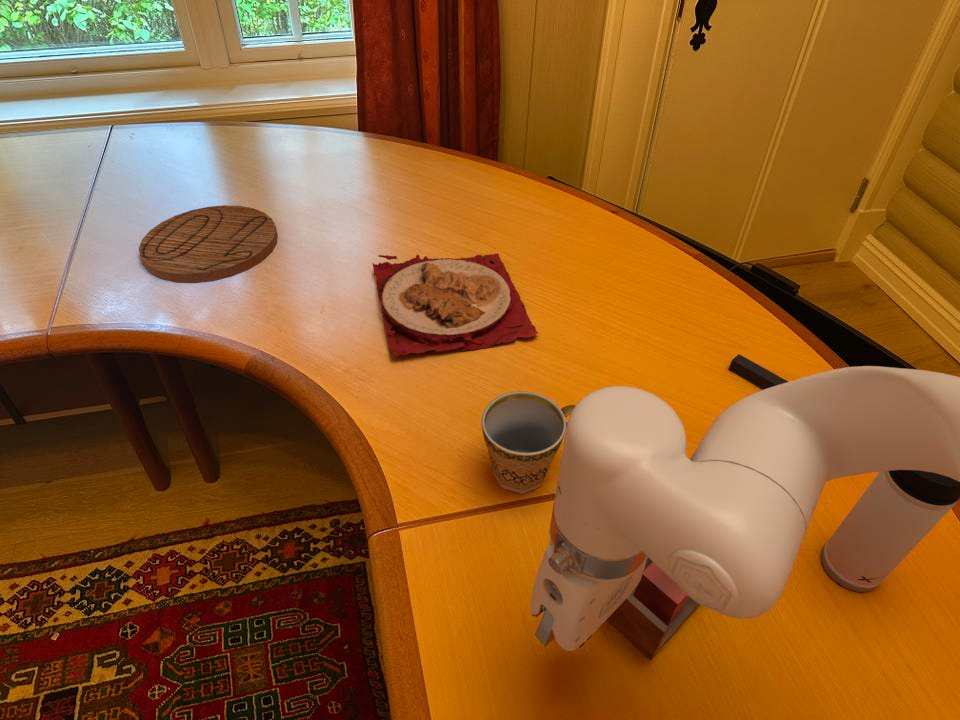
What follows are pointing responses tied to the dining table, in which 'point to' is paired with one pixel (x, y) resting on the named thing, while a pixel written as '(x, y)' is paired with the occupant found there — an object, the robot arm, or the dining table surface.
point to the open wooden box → (653, 611)
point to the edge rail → (755, 373)
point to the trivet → (208, 243)
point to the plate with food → (449, 304)
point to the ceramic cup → (523, 438)
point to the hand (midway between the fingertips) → (573, 630)
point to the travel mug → (887, 526)
